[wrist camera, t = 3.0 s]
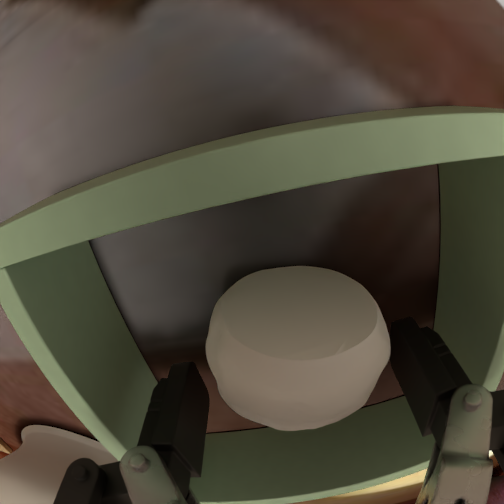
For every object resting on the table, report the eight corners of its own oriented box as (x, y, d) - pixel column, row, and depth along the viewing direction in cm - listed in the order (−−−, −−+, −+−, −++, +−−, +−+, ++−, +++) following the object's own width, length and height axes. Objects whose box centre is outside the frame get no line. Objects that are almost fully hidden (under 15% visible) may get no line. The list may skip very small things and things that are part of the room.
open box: (51, 196, 10) (-30, 241, 6) (451, 105, 9) (541, 113, 4) (181, 443, 16) (171, 507, 12) (434, 394, 15) (463, 452, 10)
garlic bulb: (229, 383, 13) (222, 489, 8) (210, 265, 11) (183, 381, 6) (348, 373, 13) (378, 473, 8) (363, 255, 11) (432, 355, 6)
